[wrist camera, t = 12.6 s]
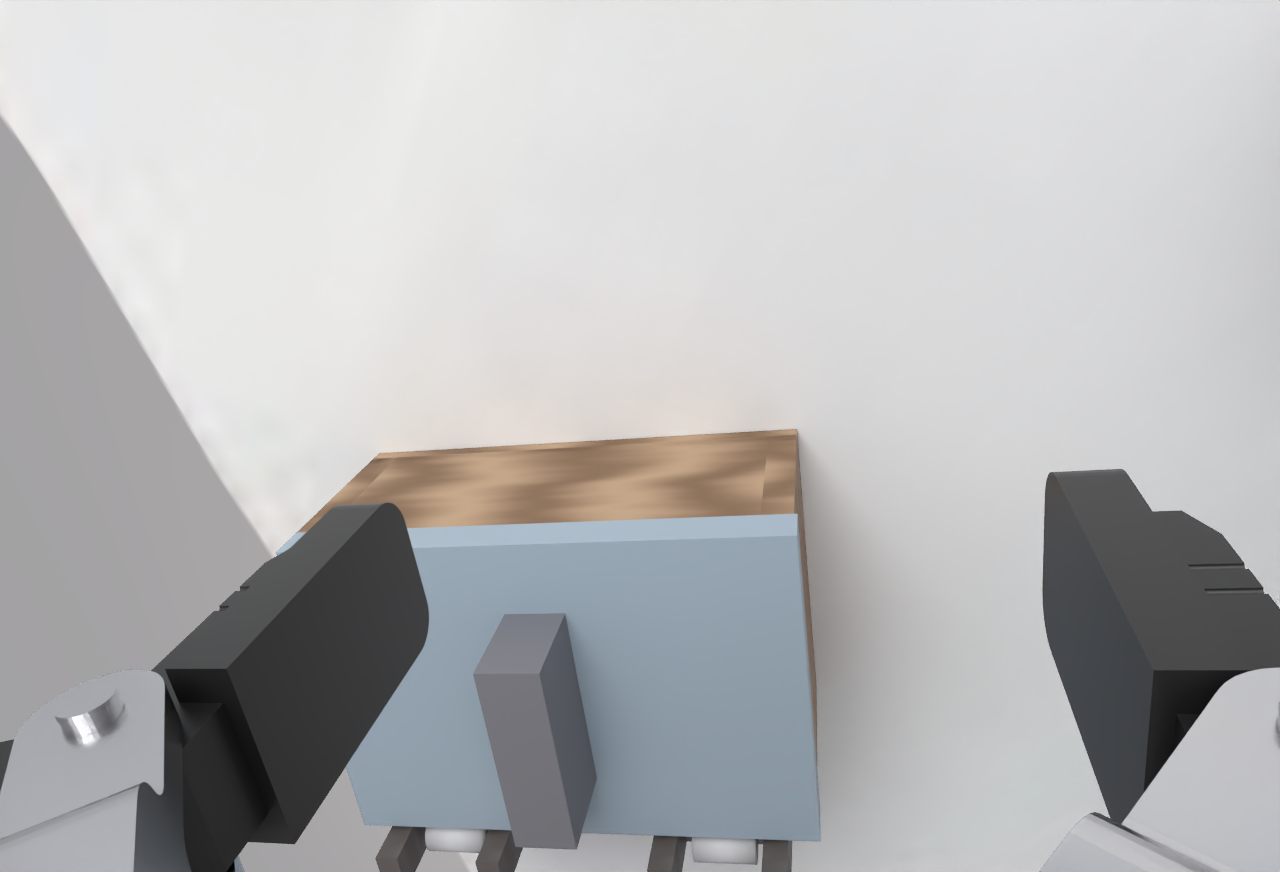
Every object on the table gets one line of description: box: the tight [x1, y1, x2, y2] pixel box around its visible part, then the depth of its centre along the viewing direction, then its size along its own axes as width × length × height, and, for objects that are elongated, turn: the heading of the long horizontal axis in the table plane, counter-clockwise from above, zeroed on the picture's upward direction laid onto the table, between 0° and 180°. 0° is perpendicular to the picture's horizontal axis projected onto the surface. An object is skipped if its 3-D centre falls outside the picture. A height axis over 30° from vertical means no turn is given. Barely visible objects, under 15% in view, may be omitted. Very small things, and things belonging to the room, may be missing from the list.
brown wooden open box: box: [298, 429, 817, 872], centre depth 40 cm, size 20×16×11 cm
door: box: [276, 514, 821, 865], centre depth 35 cm, size 20×16×5 cm
